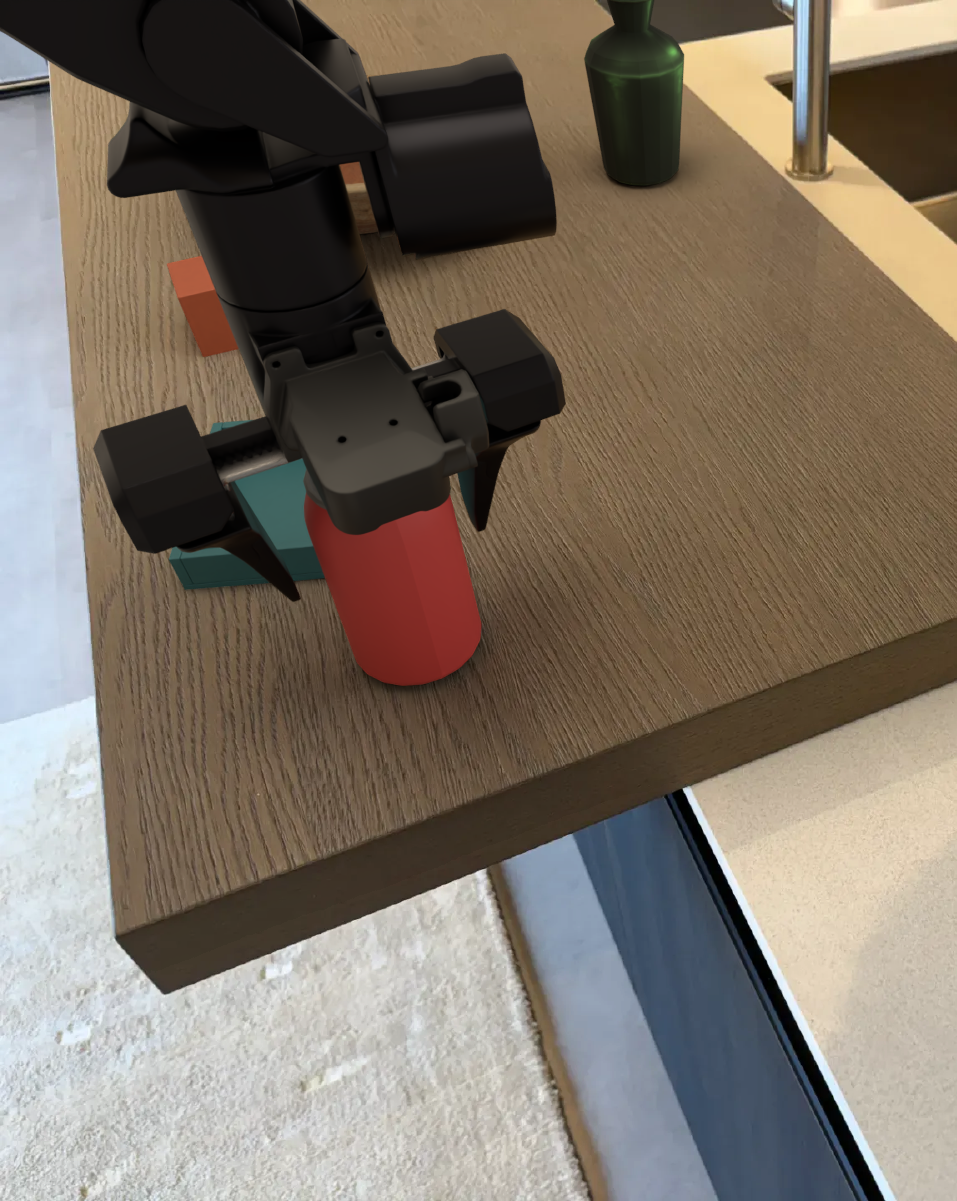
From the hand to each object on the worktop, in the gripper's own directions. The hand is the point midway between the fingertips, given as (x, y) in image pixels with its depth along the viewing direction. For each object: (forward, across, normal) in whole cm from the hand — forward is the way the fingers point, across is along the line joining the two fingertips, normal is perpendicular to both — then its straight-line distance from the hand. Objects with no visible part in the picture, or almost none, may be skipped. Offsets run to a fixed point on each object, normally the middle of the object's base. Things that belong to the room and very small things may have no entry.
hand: (389, 560), depth 56 cm
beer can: (+6, 0, 0) cm, 7 cm away
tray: (+6, -1, +14) cm, 15 cm away
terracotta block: (+6, -1, +35) cm, 36 cm away
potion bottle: (+6, +36, +43) cm, 56 cm away
